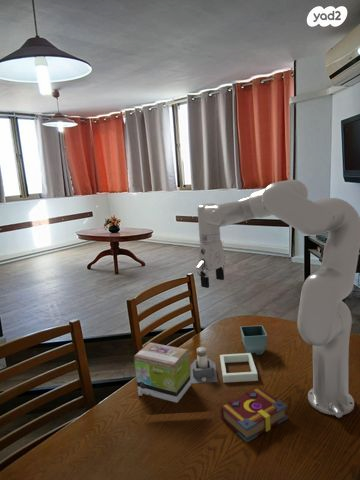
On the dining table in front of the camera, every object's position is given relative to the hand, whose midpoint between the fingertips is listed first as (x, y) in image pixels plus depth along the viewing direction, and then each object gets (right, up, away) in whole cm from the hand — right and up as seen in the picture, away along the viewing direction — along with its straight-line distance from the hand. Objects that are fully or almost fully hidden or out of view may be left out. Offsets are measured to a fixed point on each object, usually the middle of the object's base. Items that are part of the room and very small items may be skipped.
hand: (212, 283), depth 130 cm
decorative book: (+9, -35, -30) cm, 47 cm away
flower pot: (+16, -27, +5) cm, 32 cm away
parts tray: (+8, -31, -8) cm, 33 cm away
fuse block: (-4, -32, -8) cm, 33 cm away
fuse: (-4, -30, -8) cm, 31 cm away
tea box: (-17, -34, -15) cm, 41 cm away
